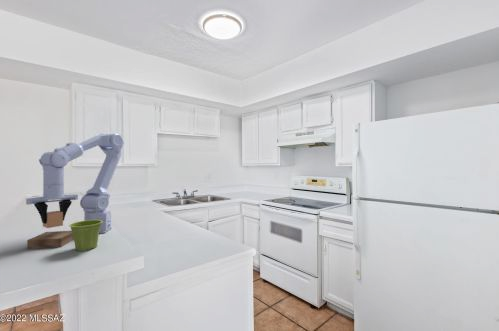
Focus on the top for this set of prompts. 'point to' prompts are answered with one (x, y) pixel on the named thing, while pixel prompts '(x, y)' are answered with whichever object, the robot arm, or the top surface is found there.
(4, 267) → the top surface
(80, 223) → the plant pot
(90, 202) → the robot arm
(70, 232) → the walnut plinth
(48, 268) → the top surface
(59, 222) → the terracotta block
